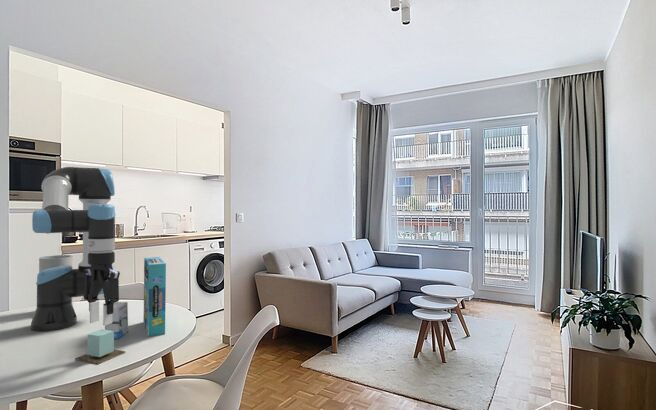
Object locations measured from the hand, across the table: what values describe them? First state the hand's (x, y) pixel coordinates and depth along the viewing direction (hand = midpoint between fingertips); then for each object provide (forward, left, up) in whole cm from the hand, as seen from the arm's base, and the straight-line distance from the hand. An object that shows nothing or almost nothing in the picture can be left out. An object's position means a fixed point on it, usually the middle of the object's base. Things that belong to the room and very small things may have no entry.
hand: (101, 322), depth 123 cm
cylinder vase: (-66, +30, -11) cm, 73 cm away
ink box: (-12, +16, -11) cm, 23 cm away
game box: (-6, +28, -11) cm, 31 cm away
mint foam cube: (0, 0, -10) cm, 10 cm away
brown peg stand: (0, 0, -11) cm, 11 cm away
